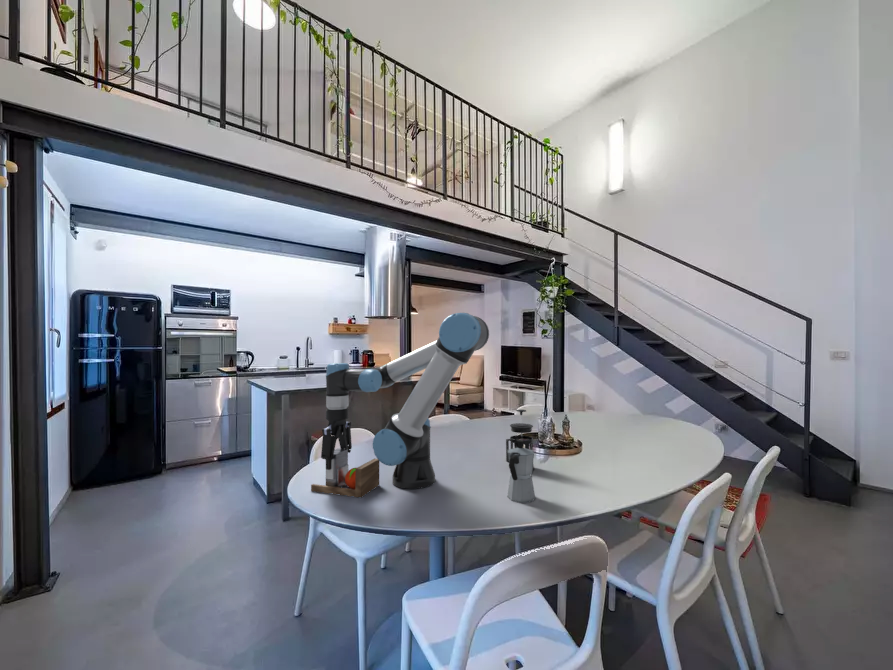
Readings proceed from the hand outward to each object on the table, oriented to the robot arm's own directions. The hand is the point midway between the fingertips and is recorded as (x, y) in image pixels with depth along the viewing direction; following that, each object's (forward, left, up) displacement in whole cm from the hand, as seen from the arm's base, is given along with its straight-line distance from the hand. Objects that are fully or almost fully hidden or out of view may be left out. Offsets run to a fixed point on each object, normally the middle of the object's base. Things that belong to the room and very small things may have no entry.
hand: (337, 474), depth 131 cm
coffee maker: (-61, -9, -4) cm, 62 cm away
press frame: (-4, 0, -4) cm, 5 cm away
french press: (-57, -40, -4) cm, 70 cm away
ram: (0, 0, -4) cm, 4 cm away
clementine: (-7, 0, -4) cm, 8 cm away
